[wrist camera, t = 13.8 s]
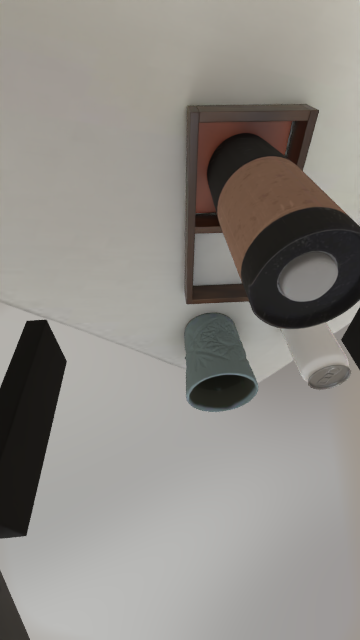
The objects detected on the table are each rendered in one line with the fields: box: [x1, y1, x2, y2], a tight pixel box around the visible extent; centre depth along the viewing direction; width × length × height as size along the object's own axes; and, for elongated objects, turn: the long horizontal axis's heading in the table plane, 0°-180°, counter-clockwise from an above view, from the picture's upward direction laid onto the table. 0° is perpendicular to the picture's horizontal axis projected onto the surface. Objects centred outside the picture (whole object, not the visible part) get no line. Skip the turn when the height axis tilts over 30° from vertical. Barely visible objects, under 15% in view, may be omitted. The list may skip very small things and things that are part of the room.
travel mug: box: [207, 133, 360, 329], centre depth 24 cm, size 8×8×20 cm
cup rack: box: [185, 104, 319, 304], centre depth 34 cm, size 11×22×3 cm, turn 0°
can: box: [280, 322, 351, 389], centre depth 44 cm, size 6×6×12 cm
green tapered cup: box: [184, 313, 258, 412], centre depth 45 cm, size 10×10×12 cm
